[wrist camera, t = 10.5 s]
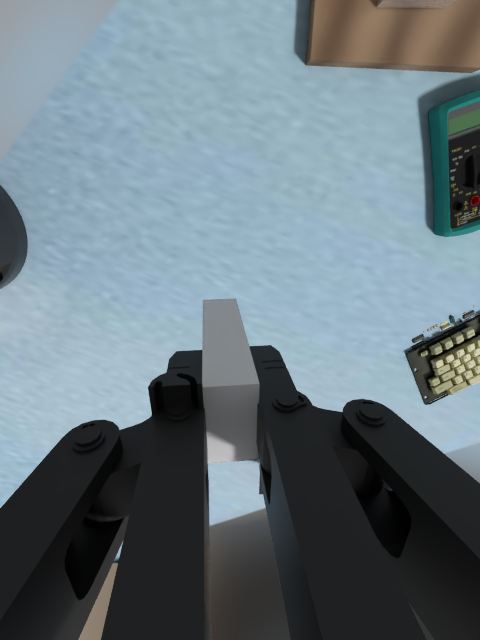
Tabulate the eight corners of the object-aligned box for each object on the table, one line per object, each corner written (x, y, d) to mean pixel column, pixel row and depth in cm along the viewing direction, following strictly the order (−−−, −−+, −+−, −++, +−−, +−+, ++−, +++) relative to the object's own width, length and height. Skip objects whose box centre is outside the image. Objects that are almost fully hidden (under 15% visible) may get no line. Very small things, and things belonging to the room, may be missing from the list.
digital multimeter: (431, 239, 40) (447, 242, 37) (424, 109, 33) (443, 102, 31) (485, 220, 39) (506, 222, 37) (488, 85, 33) (513, 77, 30)
